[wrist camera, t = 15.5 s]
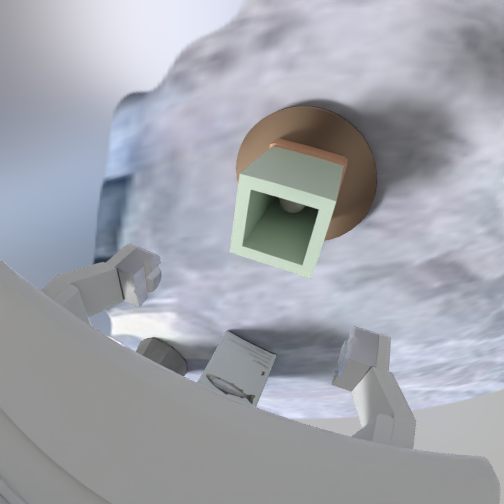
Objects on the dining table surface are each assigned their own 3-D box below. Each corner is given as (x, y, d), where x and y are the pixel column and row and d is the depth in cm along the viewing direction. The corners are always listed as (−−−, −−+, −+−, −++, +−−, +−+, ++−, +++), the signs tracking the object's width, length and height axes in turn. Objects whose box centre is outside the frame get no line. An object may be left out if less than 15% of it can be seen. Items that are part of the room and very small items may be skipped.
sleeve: (348, 156, 20) (341, 199, 14) (329, 220, 23) (313, 282, 17) (277, 137, 21) (236, 169, 15) (265, 200, 24) (226, 253, 18)
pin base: (393, 130, 19) (404, 148, 14) (352, 250, 26) (346, 295, 21) (251, 93, 21) (217, 100, 16) (234, 213, 28) (204, 248, 23)
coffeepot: (185, 342, 42) (122, 442, 28) (206, 380, 47) (157, 469, 33) (117, 329, 49) (57, 403, 35) (140, 363, 53) (91, 434, 39)
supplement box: (278, 354, 37) (244, 441, 27) (258, 377, 41) (225, 452, 31) (226, 327, 37) (180, 410, 27) (212, 354, 42) (172, 426, 32)
